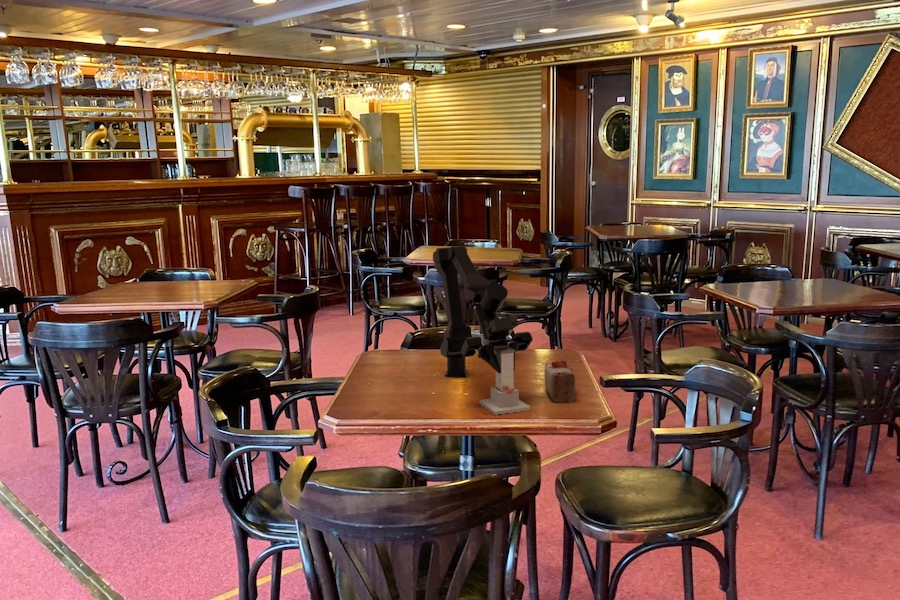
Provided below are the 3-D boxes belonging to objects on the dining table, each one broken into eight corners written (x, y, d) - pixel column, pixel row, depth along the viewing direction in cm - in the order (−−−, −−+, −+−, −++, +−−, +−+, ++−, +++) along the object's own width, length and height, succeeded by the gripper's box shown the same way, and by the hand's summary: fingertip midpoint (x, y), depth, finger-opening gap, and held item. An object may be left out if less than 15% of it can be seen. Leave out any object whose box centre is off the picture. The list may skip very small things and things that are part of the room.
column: (494, 393, 189) (494, 347, 187) (508, 391, 191) (508, 346, 189) (500, 397, 186) (500, 351, 184) (514, 395, 187) (514, 349, 185)
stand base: (479, 403, 192) (479, 383, 191) (513, 399, 195) (513, 378, 194) (495, 415, 183) (495, 393, 182) (530, 410, 186) (530, 388, 185)
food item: (541, 388, 205) (542, 354, 204) (569, 387, 206) (570, 354, 204) (550, 403, 192) (550, 367, 190) (579, 402, 192) (580, 367, 190)
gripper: (465, 307, 184) (482, 359, 176) (530, 301, 191) (549, 351, 183) (454, 331, 193) (470, 381, 185) (516, 325, 200) (534, 373, 192)
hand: (506, 371), depth 186 cm, fingers closed on column, 3 cm apart
